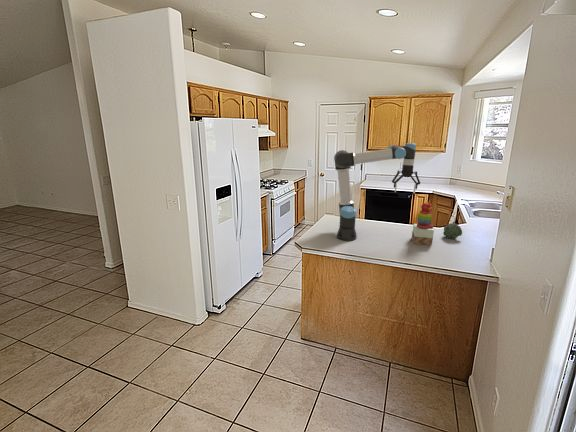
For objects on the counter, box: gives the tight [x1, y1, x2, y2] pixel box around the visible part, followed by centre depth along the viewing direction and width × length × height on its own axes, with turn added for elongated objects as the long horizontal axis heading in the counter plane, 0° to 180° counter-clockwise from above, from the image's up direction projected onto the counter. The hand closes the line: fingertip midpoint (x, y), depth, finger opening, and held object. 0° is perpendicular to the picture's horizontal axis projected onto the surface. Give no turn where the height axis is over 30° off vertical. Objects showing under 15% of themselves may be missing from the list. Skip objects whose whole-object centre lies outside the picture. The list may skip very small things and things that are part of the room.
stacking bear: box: [416, 202, 434, 229], centre depth 226 cm, size 11×10×18 cm
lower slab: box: [411, 230, 434, 246], centre depth 231 cm, size 12×12×6 cm
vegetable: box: [443, 222, 463, 239], centre depth 239 cm, size 12×13×15 cm
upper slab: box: [412, 223, 435, 239], centre depth 229 cm, size 12×12×6 cm
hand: (404, 192), depth 237 cm, fingers open, 13 cm apart
